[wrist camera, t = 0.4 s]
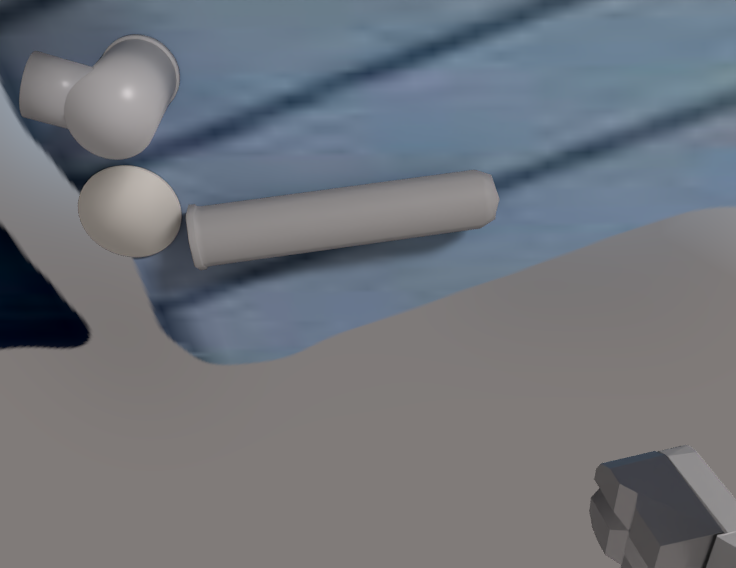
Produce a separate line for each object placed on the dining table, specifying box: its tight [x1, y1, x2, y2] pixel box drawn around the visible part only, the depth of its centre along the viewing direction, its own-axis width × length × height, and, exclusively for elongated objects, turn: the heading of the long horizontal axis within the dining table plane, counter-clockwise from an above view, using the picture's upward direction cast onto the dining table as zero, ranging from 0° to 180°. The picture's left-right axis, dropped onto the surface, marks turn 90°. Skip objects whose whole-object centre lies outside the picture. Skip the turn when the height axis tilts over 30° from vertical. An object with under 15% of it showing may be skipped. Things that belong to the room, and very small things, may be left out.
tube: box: [186, 170, 499, 270], centre depth 56 cm, size 5×5×25 cm
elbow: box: [19, 34, 180, 159], centre depth 45 cm, size 8×6×11 cm
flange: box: [78, 165, 182, 257], centre depth 55 cm, size 8×8×1 cm
